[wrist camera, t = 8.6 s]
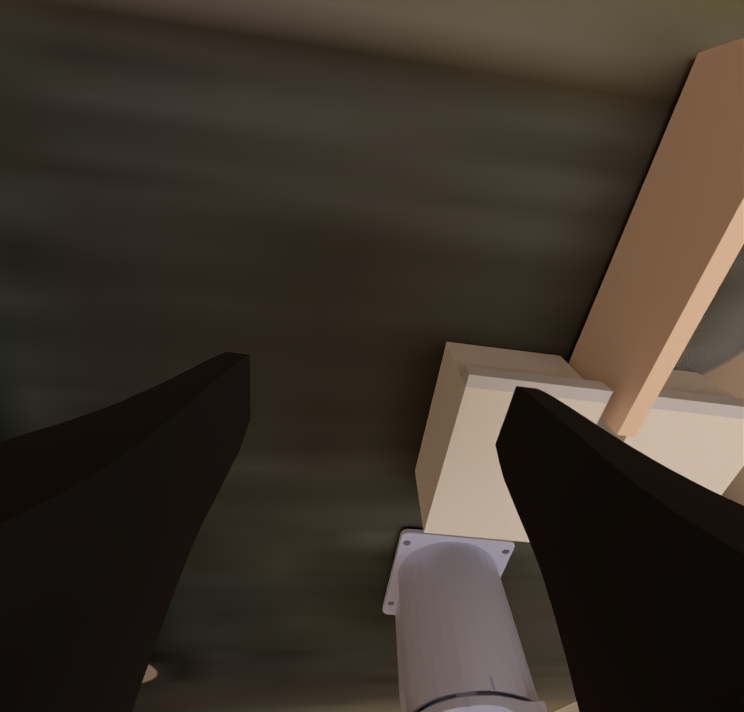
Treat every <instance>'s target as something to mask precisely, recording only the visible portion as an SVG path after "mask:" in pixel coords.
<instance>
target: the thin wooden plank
mask: <svg viewBox="0 0 744 712" xmlns="http://www.w3.org/2000/svg"><path fill="white" fill-rule="evenodd" d="M743 244H744V38H741V39H738V40H735V41H732V42H729V43H726V44H723V45H720V46H717V47H714V48H711V49H708V50H705V51H702V52H699V53H698V54H697V57H696V59H695V61H694V64H693V66H692V68H691V71H690V73H689V76H688V78H687V80H686V83H685V85H684V88H683V90H682V92H681V95H680V97H679V100H678V102H677V104H676V107H675V109H674V112H673V114H672V116H671V119H670V121H669V124H668V126H667V128H666V131H665V133H664V136H663V138H662V140H661V143H660V145H659V148H658V150H657V152H656V155H655V157H654V160H653V162H652V164H651V167H650V169H649V172H648V174H647V176H646V179H645V181H644V184H643V186H642V188H641V191H640V193H639V196H638V198H637V200H636V203H635V205H634V208H633V210H632V212H631V215H630V217H629V220H628V222H627V224H626V227H625V229H624V231H623V234H622V236H621V239H620V241H619V243H618V246H617V248H616V251H615V253H614V255H613V258H612V260H611V263H610V265H609V267H608V270H607V272H606V275H605V277H604V279H603V282H602V284H601V287H600V289H599V291H598V294H597V296H596V299H595V301H594V303H593V306H592V308H591V311H590V313H589V315H588V318H587V320H586V323H585V325H584V327H583V330H582V332H581V335H580V337H579V339H578V342H577V344H576V347H575V349H574V351H573V354H572V356H571V359H570V361H569V363H568V364H569V365H570V366H571V367H572V368H573V369H574V370H575V371H576V372H577V373H578V374H579V375H580V376H581V377H582V378H583V379H584V380H593V381H601V382H604V383H605V384H606V385H607V386H608V387H609V388H610V389H611V390H612V391H613V393H612V395H611V397H610V399H609V401H608V403H607V405H606V407H605V409H604V411H603V413H602V415H601V418H602V419H603V420H604V421H605V422H606V423H607V424H608V426H609V427H610V428H611V429H612V430H613V431H614V432H615V433H616V434H617V435H622V436H631V437H635V436H636V434H637V432H638V431H639V429H640V427H641V425H642V424H643V422H644V420H645V418H646V416H647V415H648V413H649V411H650V409H651V408H652V406H653V404H654V402H655V400H656V399H657V397H658V395H659V393H660V392H661V390H662V388H663V386H664V384H665V383H666V381H667V379H668V377H669V376H670V374H671V372H672V370H673V368H674V367H675V365H676V363H677V361H678V360H679V358H680V356H681V354H682V352H683V351H684V349H685V347H686V345H687V344H688V342H689V340H690V338H691V336H692V335H693V333H694V331H695V329H696V328H697V326H698V324H699V322H700V320H701V319H702V317H703V315H704V313H705V312H706V310H707V308H708V306H709V304H710V303H711V301H712V299H713V297H714V296H715V294H716V292H717V290H718V288H719V287H720V285H721V283H722V281H723V280H724V278H725V276H726V274H727V272H728V271H729V269H730V267H731V265H732V264H733V262H734V260H735V258H736V256H737V255H738V253H739V251H740V249H741V248H742V246H743Z"/></svg>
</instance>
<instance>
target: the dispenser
mask: <svg viewBox="0 0 744 712" xmlns="http://www.w3.org/2000/svg"><path fill="white" fill-rule="evenodd" d="M516 386H520V387H528V388H537V389H540V390H542V391H544V392H546V393H548V394H549V395H551V396H553V397H554V398H556V399H558V400H559V401H561V402H563V403H564V404H566V405H567V406H569V407H570V408H572V409H573V410H575V411H576V412H578V413H580V414H581V415H583V416H584V417H586V418H587V419H589V420H590V421H592V422H593V423H595V424H596V425H598V426H599V427H601V428H603V429H604V430H606V431H607V432H609V433H610V434H612V435H613V436H615V437H617V438H618V439H620V440H621V441H623V442H625V443H626V444H628V445H630V446H631V447H633V448H635V449H636V450H638V451H640V452H641V453H643V454H645V455H646V456H648V457H650V458H651V459H653V460H655V461H656V462H658V463H660V464H662V465H664V466H665V467H667V468H669V469H671V470H673V471H674V472H676V473H678V474H680V475H682V476H684V477H686V478H688V479H690V480H692V481H694V482H695V483H697V484H699V485H701V486H703V487H705V488H707V489H709V490H711V491H713V492H715V493H717V494H719V495H722V493H723V492H724V491H725V490H726V488H727V487H728V486H729V484H730V483H731V482H732V480H733V479H734V478H735V476H736V475H737V474H738V472H739V471H740V470H741V468H742V467H743V466H744V399H743V398H736V397H735V396H733V395H732V394H730V393H729V392H727V391H725V390H724V389H722V388H721V387H719V386H718V385H716V384H715V383H713V382H711V381H710V380H708V379H707V378H705V377H704V376H702V375H701V374H699V373H696V372H688V371H680V370H672V372H671V374H670V376H669V377H668V379H667V381H666V383H665V384H664V386H663V388H662V390H661V392H660V393H659V395H658V397H657V399H656V400H655V402H654V404H653V406H652V408H651V409H650V411H649V413H648V415H647V416H646V418H645V420H644V422H643V424H642V425H641V427H640V429H639V431H638V432H637V434H636V436H635V437H631V436H622V435H617V434H616V433H615V432H614V431H613V430H612V429H611V428H610V427H609V426H608V424H607V423H606V422H605V421H604V420H603V419H602V418H601V415H602V413H603V411H604V409H605V407H606V405H607V403H608V401H609V399H610V397H611V395H612V393H613V391H612V390H611V389H610V388H609V387H608V386H607V385H606V384H605V383H604V382H601V381H593V380H584V379H583V378H582V377H581V376H580V375H579V374H578V373H577V372H576V371H575V370H574V369H573V368H572V367H571V366H570V365H569V364H568V363H567V362H566V361H565V360H564V359H563V358H562V357H561V356H558V355H550V354H542V353H534V352H526V351H518V350H510V349H501V348H493V347H485V346H477V345H469V344H461V343H453V342H446V346H445V350H444V354H443V358H442V362H441V366H440V370H439V375H438V379H437V383H436V387H435V391H434V395H433V399H432V403H431V407H430V411H429V415H428V419H427V423H426V427H425V431H424V436H423V440H422V444H421V448H420V452H419V456H418V460H417V464H416V468H415V475H416V482H417V489H418V496H419V503H420V510H421V517H422V524H423V531H424V533H433V534H444V535H455V536H466V537H477V538H488V539H499V540H510V541H521V542H529V539H528V537H527V534H526V532H525V530H524V527H523V525H522V522H521V520H520V518H519V515H518V513H517V510H516V508H515V506H514V503H513V501H512V498H511V496H510V493H509V491H508V488H507V486H506V483H505V481H504V478H503V475H502V471H501V467H500V463H499V459H498V455H497V451H496V446H495V444H496V441H497V438H498V436H499V433H500V430H501V427H502V424H503V422H504V419H505V416H506V413H507V410H508V408H509V405H510V402H511V399H512V396H513V394H514V391H515V388H516Z"/></svg>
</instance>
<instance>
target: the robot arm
mask: <svg viewBox="0 0 744 712" xmlns="http://www.w3.org/2000/svg"><path fill="white" fill-rule="evenodd" d="M249 421H250V363H249V355H246V354H238V353H229V352H225V353H222V354H220V355H217V356H215V357H213V358H211V359H209V360H207V361H205V362H203V363H201V364H199V365H197V366H195V367H193V368H192V369H190V370H188V371H186V372H184V373H182V374H180V375H178V376H176V377H174V378H172V379H170V380H168V381H166V382H164V383H161V384H159V385H157V386H155V387H153V388H150V389H148V390H146V391H144V392H141V393H139V394H137V395H135V396H133V397H130V398H128V399H126V400H124V401H121V402H119V403H116V404H114V405H111V406H109V407H106V408H104V409H101V410H98V411H96V412H93V413H90V414H87V415H84V416H82V417H79V418H76V419H73V420H70V421H67V422H64V423H61V424H58V425H54V426H51V427H48V428H44V429H41V430H38V431H34V432H31V433H27V434H24V435H21V436H17V437H14V438H11V439H7V440H4V441H0V712H132V710H133V707H134V704H135V701H136V698H137V695H138V692H139V689H140V686H141V684H142V681H143V678H144V675H145V672H146V669H147V666H148V664H149V661H150V658H151V655H152V652H153V649H154V646H155V643H156V641H157V638H158V635H159V632H160V629H161V627H162V624H163V621H164V619H165V616H166V613H167V610H168V608H169V605H170V602H171V600H172V597H173V594H174V591H175V589H176V586H177V583H178V581H179V578H180V576H181V573H182V571H183V568H184V565H185V563H186V560H187V558H188V555H189V553H190V550H191V547H192V545H193V543H194V540H195V538H196V536H197V534H198V532H199V530H200V527H201V525H202V523H203V521H204V519H205V517H206V515H207V513H208V511H209V510H210V508H211V506H212V504H213V502H214V500H215V498H216V496H217V494H218V492H219V490H220V488H221V486H222V484H223V482H224V480H225V478H226V476H227V474H228V472H229V470H230V468H231V466H232V464H233V462H234V460H235V458H236V456H237V454H238V452H239V450H240V447H241V444H242V442H243V439H244V436H245V433H246V430H247V427H248V424H249ZM495 446H496V451H497V455H498V459H499V463H500V467H501V471H502V475H503V478H504V481H505V483H506V486H507V488H508V491H509V493H510V496H511V498H512V501H513V503H514V506H515V508H516V510H517V513H518V515H519V518H520V520H521V522H522V525H523V527H524V530H525V532H526V534H527V537H528V539H529V542H530V544H531V546H532V549H533V551H534V554H535V556H536V559H537V561H538V564H539V567H540V570H541V572H542V575H543V579H544V582H545V585H546V588H547V592H548V595H549V598H550V602H551V605H552V608H553V612H554V615H555V619H556V622H557V626H558V630H559V633H560V637H561V641H562V644H563V648H564V652H565V655H566V659H567V663H568V667H569V671H570V675H571V679H572V683H573V688H574V692H575V696H576V700H577V704H578V708H579V712H744V506H743V505H741V504H738V503H736V502H734V501H732V500H730V499H727V498H725V497H723V496H721V495H719V494H717V493H715V492H713V491H711V490H709V489H707V488H705V487H703V486H701V485H699V484H697V483H695V482H694V481H692V480H690V479H688V478H686V477H684V476H682V475H680V474H678V473H676V472H674V471H673V470H671V469H669V468H667V467H665V466H664V465H662V464H660V463H658V462H656V461H655V460H653V459H651V458H650V457H648V456H646V455H645V454H643V453H641V452H640V451H638V450H636V449H635V448H633V447H631V446H630V445H628V444H626V443H625V442H623V441H621V440H620V439H618V438H617V437H615V436H613V435H612V434H610V433H609V432H607V431H606V430H604V429H603V428H601V427H599V426H598V425H596V424H595V423H593V422H592V421H590V420H589V419H587V418H586V417H584V416H583V415H581V414H580V413H578V412H576V411H575V410H573V409H572V408H570V407H569V406H567V405H566V404H564V403H563V402H561V401H559V400H558V399H556V398H554V397H553V396H551V395H549V394H548V393H546V392H544V391H542V390H540V389H537V388H528V387H520V386H516V388H515V391H514V394H513V396H512V399H511V402H510V405H509V408H508V410H507V413H506V416H505V419H504V422H503V424H502V427H501V430H500V433H499V436H498V438H497V441H496V444H495ZM514 547H515V544H514V542H513V541H510V540H499V539H488V538H477V537H466V536H455V535H444V534H433V533H424V531H423V530H418V529H404V530H403V531H401V533H400V537H399V541H398V545H397V549H396V554H395V558H394V562H393V566H392V570H391V574H390V578H389V582H388V586H387V590H386V594H385V598H384V602H383V612H384V613H385V614H389V615H395V619H396V638H397V657H398V676H399V695H400V704H401V710H402V712H548V711H547V708H546V705H545V702H544V701H539V700H538V697H537V694H536V691H535V687H534V684H533V681H532V678H531V675H530V671H529V668H528V665H527V662H526V658H525V655H524V652H523V649H522V646H521V642H520V639H519V636H518V633H517V630H516V626H515V623H514V620H513V617H512V614H511V610H510V607H509V604H508V601H507V598H506V594H505V591H504V588H503V585H502V582H501V576H502V573H503V571H504V569H505V567H506V565H507V562H508V560H509V558H510V556H511V554H512V552H513V549H514Z"/></svg>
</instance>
